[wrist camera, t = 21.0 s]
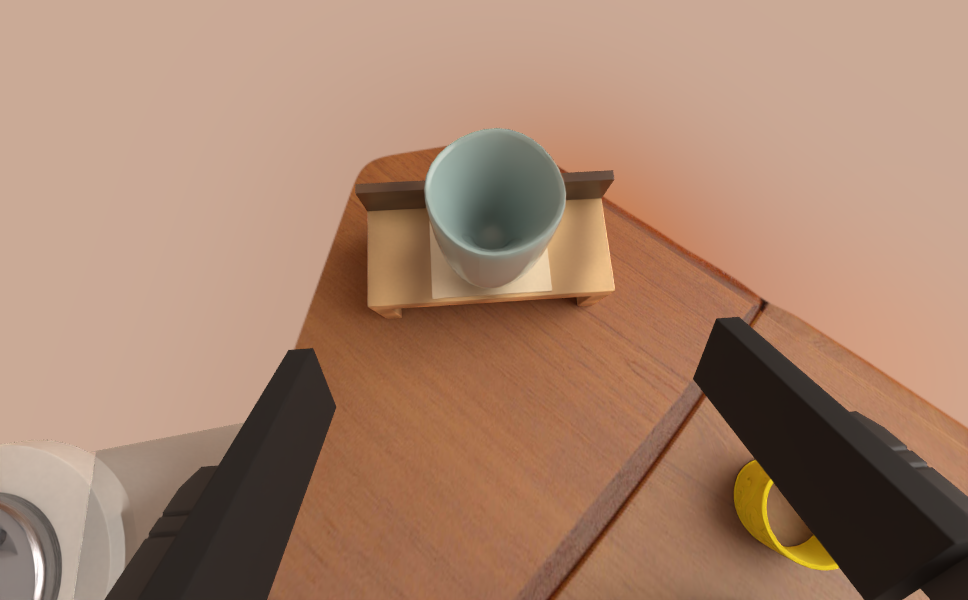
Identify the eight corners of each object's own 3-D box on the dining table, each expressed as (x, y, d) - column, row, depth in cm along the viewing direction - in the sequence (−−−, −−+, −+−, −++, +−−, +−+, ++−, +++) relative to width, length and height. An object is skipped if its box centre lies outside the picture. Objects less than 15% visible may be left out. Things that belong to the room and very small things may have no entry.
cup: (555, 266, 29) (595, 210, 19) (474, 317, 28) (472, 284, 18) (503, 192, 30) (515, 104, 20) (424, 238, 29) (397, 168, 19)
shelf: (386, 318, 34) (354, 298, 25) (385, 231, 36) (355, 183, 27) (592, 305, 35) (631, 281, 26) (580, 220, 36) (613, 170, 28)
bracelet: (826, 557, 30) (867, 579, 27) (732, 541, 30) (762, 561, 27) (822, 466, 32) (861, 476, 28) (733, 451, 32) (761, 460, 29)
